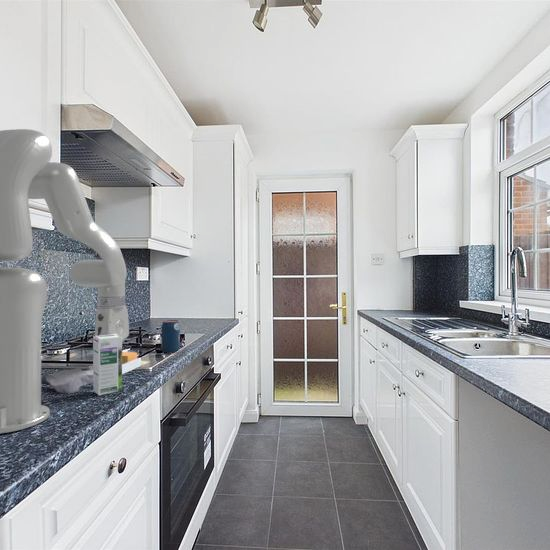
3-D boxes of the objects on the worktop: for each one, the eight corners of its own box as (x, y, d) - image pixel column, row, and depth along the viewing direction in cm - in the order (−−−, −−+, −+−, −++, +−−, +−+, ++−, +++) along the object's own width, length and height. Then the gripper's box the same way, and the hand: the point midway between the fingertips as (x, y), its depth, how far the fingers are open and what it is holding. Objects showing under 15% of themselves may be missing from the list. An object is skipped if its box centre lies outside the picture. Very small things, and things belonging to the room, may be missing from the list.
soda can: (183, 351, 139) (183, 321, 139) (167, 354, 134) (167, 322, 134) (173, 348, 144) (173, 319, 144) (157, 351, 139) (158, 321, 139)
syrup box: (98, 396, 88) (98, 338, 88) (92, 390, 93) (92, 334, 93) (122, 391, 92) (122, 335, 92) (115, 385, 97) (116, 332, 96)
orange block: (127, 369, 110) (127, 356, 110) (113, 368, 111) (113, 355, 111) (137, 364, 115) (137, 352, 115) (123, 364, 116) (123, 351, 116)
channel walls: (114, 380, 101) (114, 368, 101) (88, 378, 103) (88, 366, 103) (141, 368, 114) (141, 357, 114) (117, 367, 116) (117, 356, 116)
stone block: (66, 402, 90) (102, 384, 98) (62, 384, 89) (99, 367, 97) (42, 395, 96) (78, 378, 104) (38, 378, 95) (74, 363, 103)
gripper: (105, 305, 98) (106, 371, 98) (137, 300, 112) (137, 357, 113) (82, 304, 99) (82, 369, 100) (116, 299, 114) (117, 356, 115)
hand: (112, 363), depth 106 cm, fingers closed
